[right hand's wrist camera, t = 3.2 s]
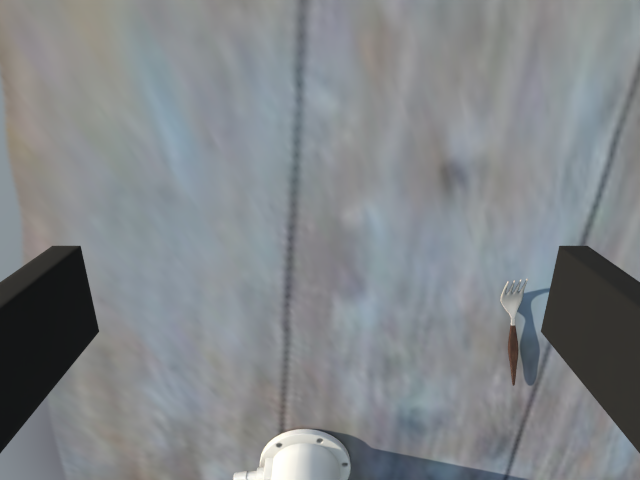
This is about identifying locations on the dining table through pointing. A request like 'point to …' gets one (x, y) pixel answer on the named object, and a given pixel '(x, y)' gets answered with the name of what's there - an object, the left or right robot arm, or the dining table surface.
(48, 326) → the right robot arm
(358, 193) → the dining table surface
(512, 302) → the fork
